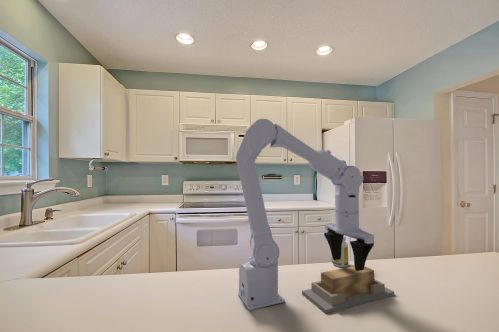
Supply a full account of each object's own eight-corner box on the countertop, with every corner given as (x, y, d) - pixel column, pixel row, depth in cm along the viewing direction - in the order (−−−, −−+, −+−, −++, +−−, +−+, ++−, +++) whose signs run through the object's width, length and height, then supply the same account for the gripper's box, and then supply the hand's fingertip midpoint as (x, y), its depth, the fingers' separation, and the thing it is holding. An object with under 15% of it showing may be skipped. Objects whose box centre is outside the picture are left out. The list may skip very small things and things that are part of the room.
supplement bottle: (345, 261, 81) (345, 234, 82) (350, 267, 76) (350, 238, 76) (329, 261, 82) (329, 233, 82) (334, 267, 76) (333, 237, 77)
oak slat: (332, 300, 54) (332, 279, 54) (321, 292, 58) (320, 272, 58) (374, 289, 59) (374, 270, 60) (361, 283, 63) (361, 264, 63)
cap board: (325, 313, 50) (325, 300, 51) (301, 294, 59) (301, 282, 59) (394, 294, 59) (394, 283, 59) (364, 280, 67) (364, 270, 67)
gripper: (382, 215, 54) (384, 273, 54) (338, 207, 68) (338, 253, 67) (360, 216, 52) (361, 277, 51) (319, 208, 65) (319, 256, 65)
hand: (347, 264), depth 59 cm, fingers open, 7 cm apart
